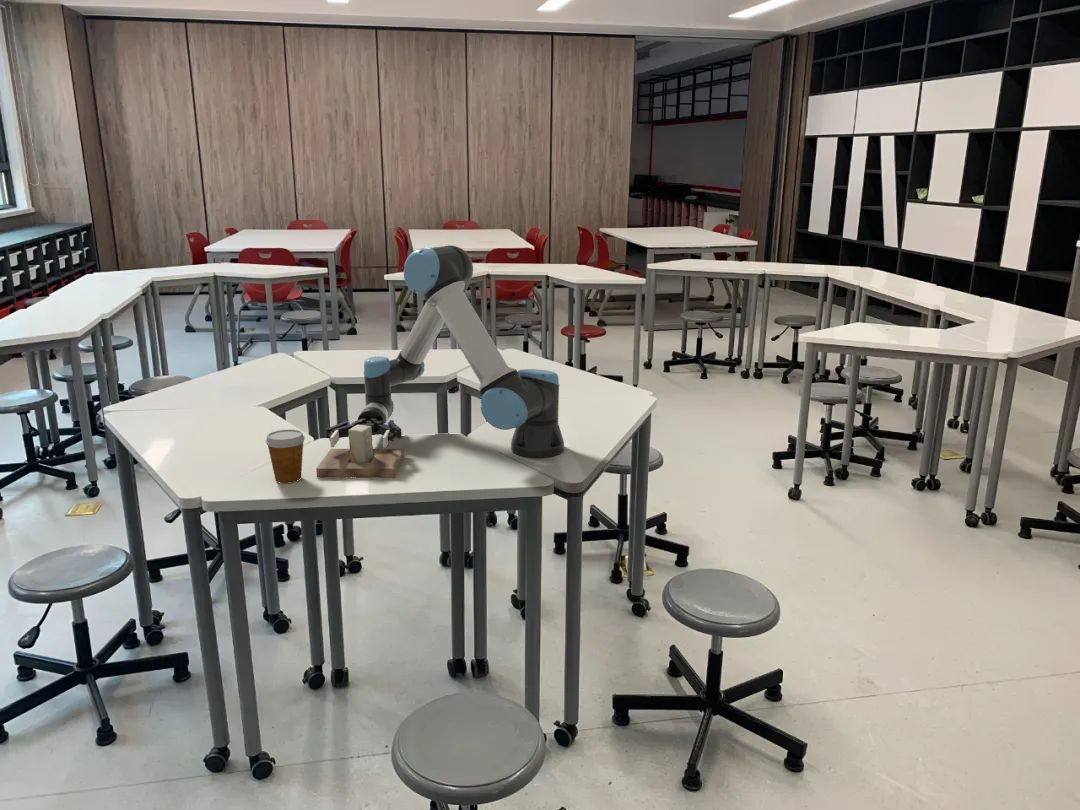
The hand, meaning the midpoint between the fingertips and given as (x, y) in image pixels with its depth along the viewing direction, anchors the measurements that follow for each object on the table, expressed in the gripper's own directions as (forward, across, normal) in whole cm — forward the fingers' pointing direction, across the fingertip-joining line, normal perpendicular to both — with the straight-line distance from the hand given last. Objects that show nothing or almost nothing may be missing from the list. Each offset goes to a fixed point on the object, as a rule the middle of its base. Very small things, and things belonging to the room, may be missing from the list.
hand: (357, 442), depth 211 cm
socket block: (-3, 0, -8) cm, 9 cm away
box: (-3, 0, -8) cm, 9 cm away
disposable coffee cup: (+6, +17, -8) cm, 20 cm away
